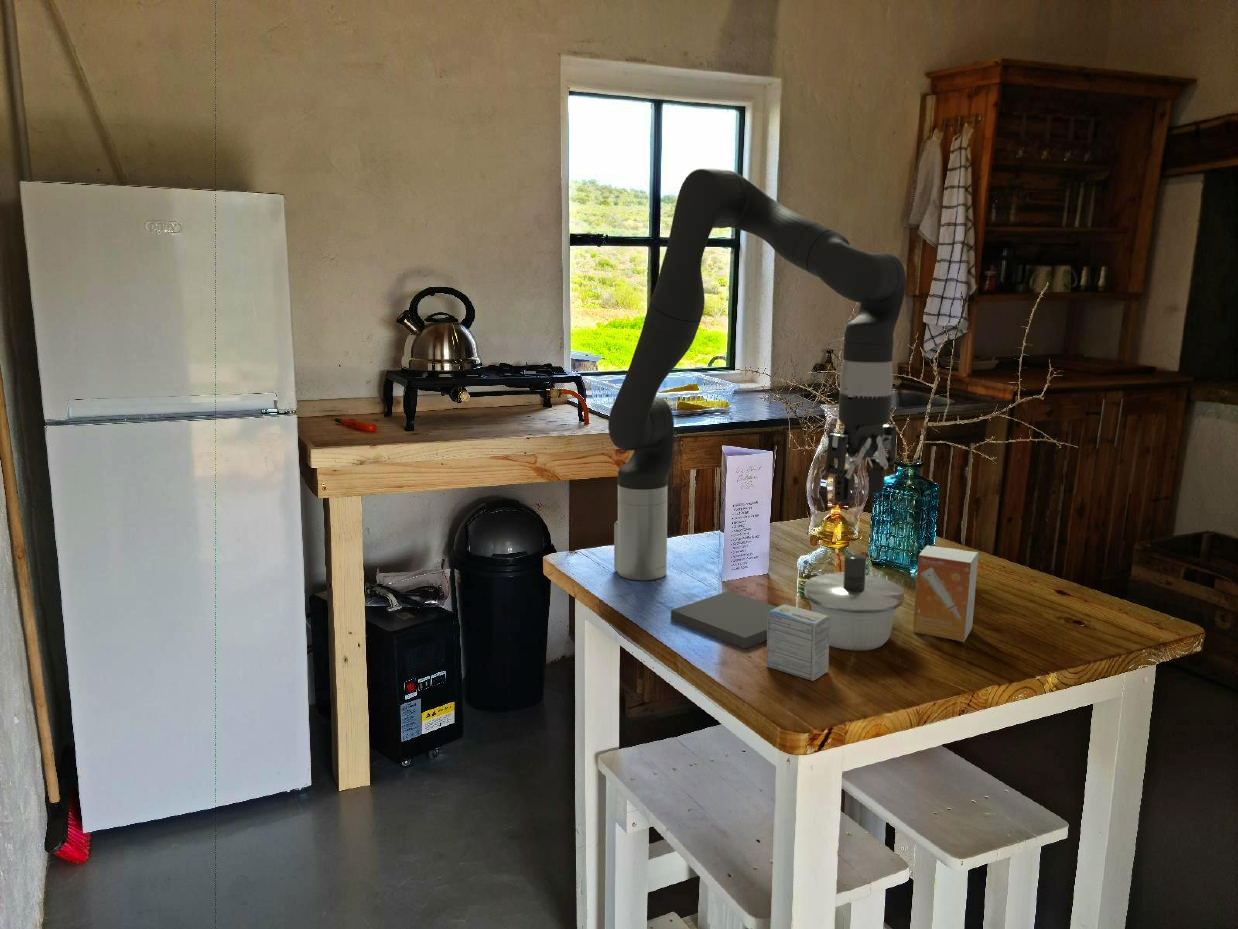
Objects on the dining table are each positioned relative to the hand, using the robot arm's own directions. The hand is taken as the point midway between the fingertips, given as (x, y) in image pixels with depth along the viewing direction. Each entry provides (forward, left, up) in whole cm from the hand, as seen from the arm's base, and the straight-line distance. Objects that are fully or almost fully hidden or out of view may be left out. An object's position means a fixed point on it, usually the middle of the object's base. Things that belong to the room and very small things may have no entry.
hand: (859, 497), depth 148 cm
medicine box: (+2, -16, -23) cm, 28 cm away
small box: (+8, +13, -23) cm, 27 cm away
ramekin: (0, 0, -23) cm, 23 cm away
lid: (0, 0, -16) cm, 16 cm away
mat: (-16, -9, -23) cm, 29 cm away
